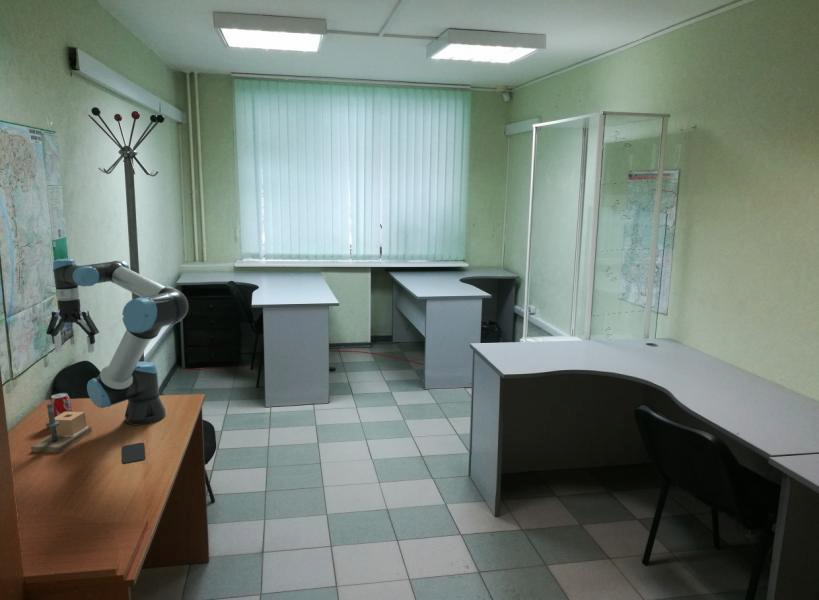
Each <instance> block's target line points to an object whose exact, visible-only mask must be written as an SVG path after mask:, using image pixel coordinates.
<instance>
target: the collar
mask: <svg viewBox="0 0 819 600" xmlns="http://www.w3.org/2000/svg"><path fill="white" fill-rule="evenodd" d="M86 418H87V417H86V412H85V411H72V412H63V413H62V414H60V415H58V416H56V417H55V421H59V425H58V426H56V431H57V435H75V434H76V433H78V432H79V431H81V430H83V429H84V428H86V427H87V420H86Z"/></svg>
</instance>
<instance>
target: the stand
mask: <svg viewBox="0 0 819 600" xmlns="http://www.w3.org/2000/svg"><path fill="white" fill-rule="evenodd" d="M46 408H47V416H48V422H46V423H45V427H46V428H48V429H50V434H49V435H48V436H46V437H44V438H43V439H41V440H40V441H38V442H36V443H35V444H33V445H31V446H30V449H31V450H30V451H31V453H51V452H52V453H53V454H54V453H56V452H57V454H59V453H62V452H64V451H66V450H67V449H69V448H71V446H73V445H75V444H76V443H77V442H80V441H81V440H82V439H84V438H85V437H87V436H89V433H90V432H91V433H92V432H93V431H92V427H91V426H87V425H86V426H87V427H86V428H84V429H83V430H81V431H79V432H78V433H76V434H75V435H57V431H56V426H58V425H59V421H55V417H54V409H53V404H50V403H47V404H46ZM91 433H90V434H91ZM86 435H87V436H86ZM84 436H85V437H84ZM83 437H84V438H83ZM80 439H81V440H80Z"/></svg>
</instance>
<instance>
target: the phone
mask: <svg viewBox="0 0 819 600" xmlns="http://www.w3.org/2000/svg"><path fill="white" fill-rule="evenodd" d="M145 447H146V446H145V442H136V443H133V444H127V445H123V446H122V448H121V463H123V465H126V463H127V464H132V462H133V463H137V462H142V461H145V460H146V452H145V451H146V448H145Z"/></svg>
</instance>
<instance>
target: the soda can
mask: <svg viewBox="0 0 819 600" xmlns="http://www.w3.org/2000/svg"><path fill="white" fill-rule="evenodd" d="M71 402H72V401H71V398H70V396H69V394H68V393H67V392H59V393H56V394H52V395H51V396H50V401H49V404H53V409H54V417H56V416H58V415H60V414H62V413H63V412H73V409H72V403H71Z"/></svg>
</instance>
